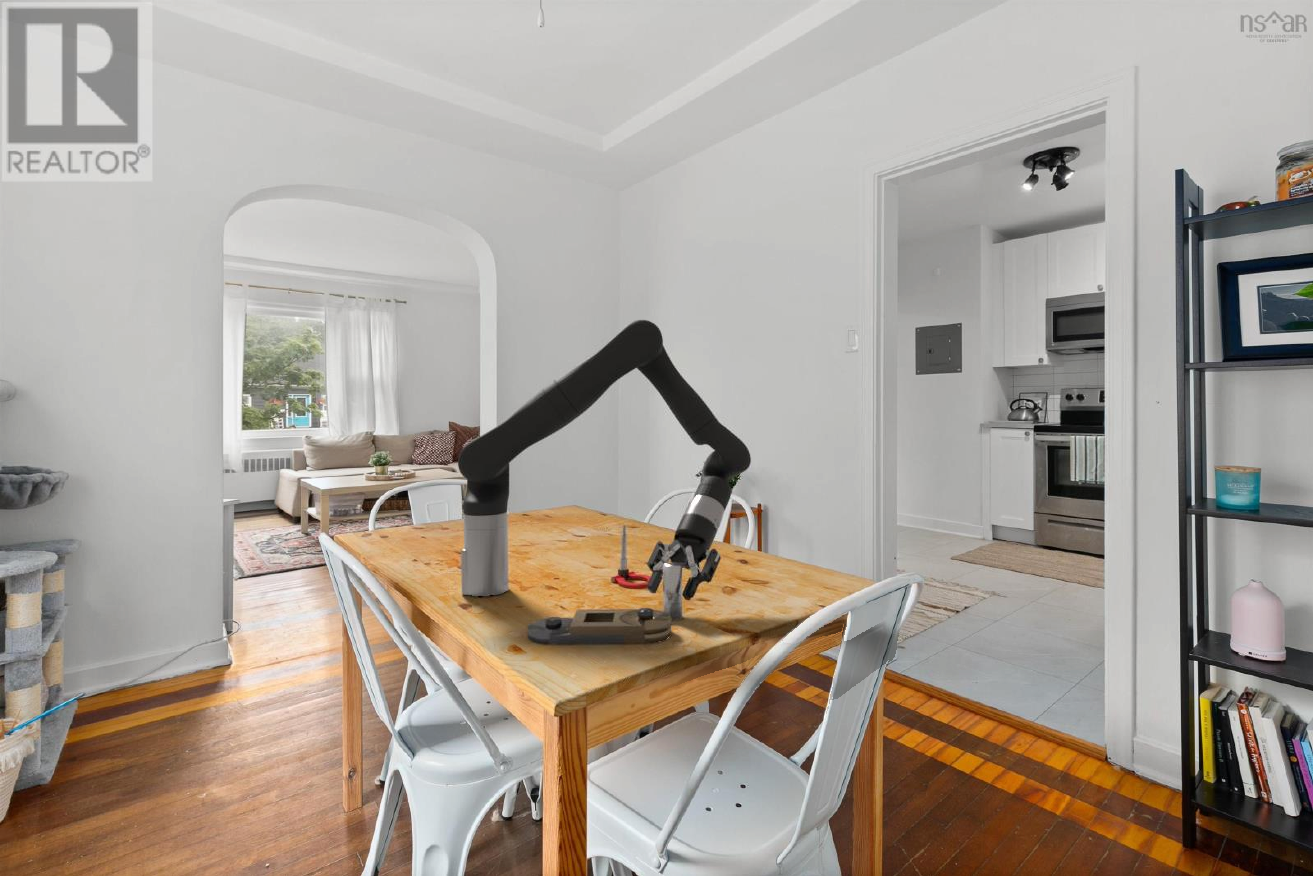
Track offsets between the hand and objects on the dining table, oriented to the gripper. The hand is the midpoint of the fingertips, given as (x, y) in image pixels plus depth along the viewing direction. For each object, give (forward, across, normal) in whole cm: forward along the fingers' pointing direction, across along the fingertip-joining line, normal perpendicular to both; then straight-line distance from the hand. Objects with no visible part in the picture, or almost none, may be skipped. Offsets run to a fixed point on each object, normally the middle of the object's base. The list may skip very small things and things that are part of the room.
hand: (668, 594), depth 117 cm
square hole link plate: (+13, -6, -6) cm, 15 cm away
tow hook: (-8, -20, +15) cm, 27 cm away
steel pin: (+2, 0, +4) cm, 5 cm away
